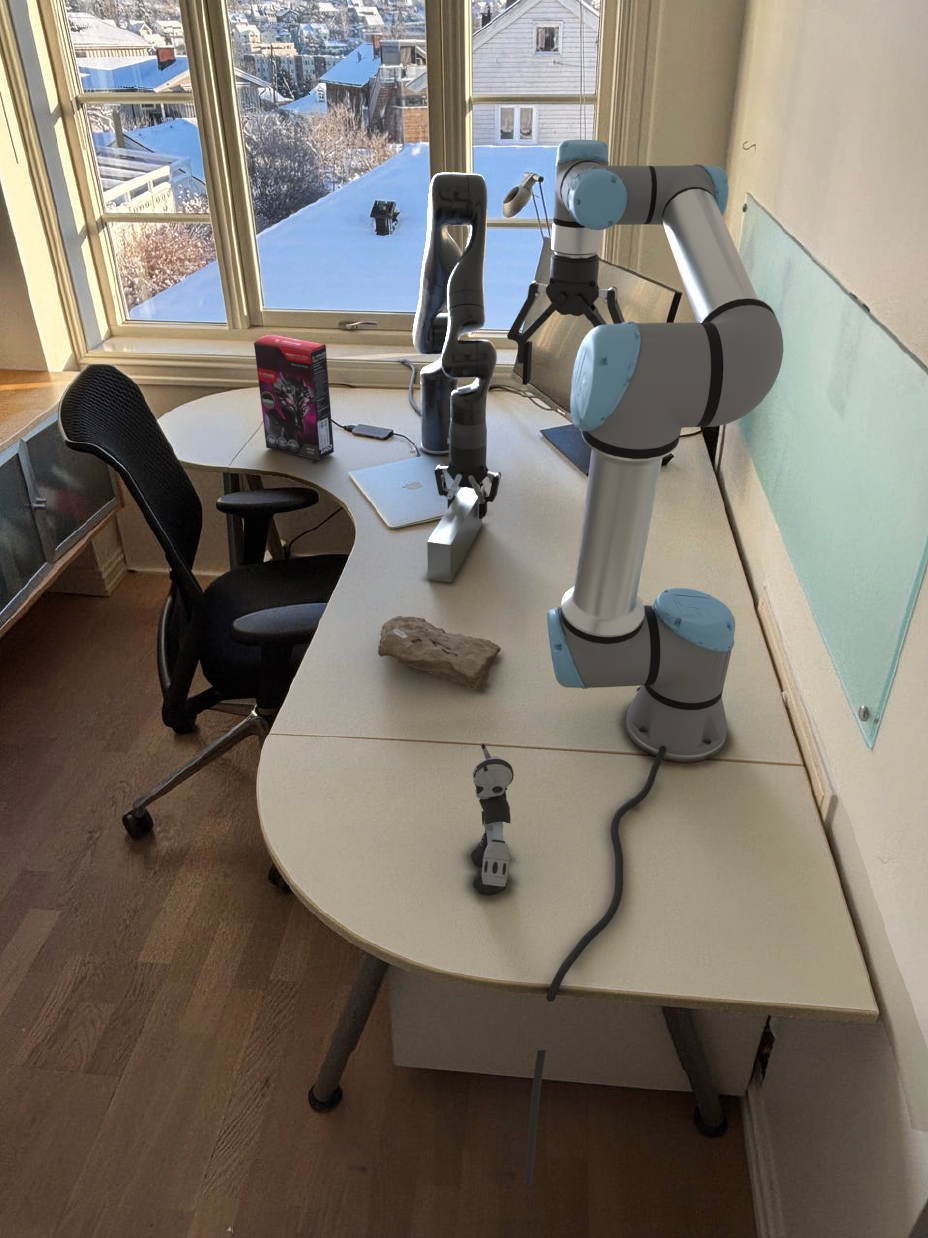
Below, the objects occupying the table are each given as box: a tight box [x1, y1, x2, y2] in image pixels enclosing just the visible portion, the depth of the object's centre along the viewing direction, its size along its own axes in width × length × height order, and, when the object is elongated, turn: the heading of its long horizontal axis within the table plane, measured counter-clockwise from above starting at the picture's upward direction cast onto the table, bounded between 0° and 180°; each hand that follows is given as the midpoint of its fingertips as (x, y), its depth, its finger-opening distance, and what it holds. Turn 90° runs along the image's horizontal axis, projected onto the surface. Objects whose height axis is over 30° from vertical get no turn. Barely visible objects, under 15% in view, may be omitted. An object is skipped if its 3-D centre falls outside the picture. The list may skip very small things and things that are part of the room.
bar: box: [426, 487, 483, 583], centre depth 187 cm, size 25×5×8 cm, turn 165°
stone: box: [377, 615, 502, 691], centre depth 155 cm, size 21×15×6 cm
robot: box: [470, 743, 515, 896], centre depth 114 cm, size 20×5×20 cm, turn 3°
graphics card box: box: [253, 333, 335, 461], centre depth 223 cm, size 17×7×27 cm, turn 62°
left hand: (467, 515), depth 194 cm, fingers open, 5 cm apart
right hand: (565, 386), depth 154 cm, fingers open, 13 cm apart
